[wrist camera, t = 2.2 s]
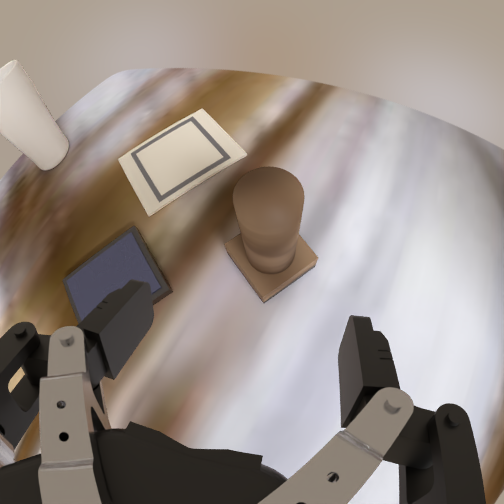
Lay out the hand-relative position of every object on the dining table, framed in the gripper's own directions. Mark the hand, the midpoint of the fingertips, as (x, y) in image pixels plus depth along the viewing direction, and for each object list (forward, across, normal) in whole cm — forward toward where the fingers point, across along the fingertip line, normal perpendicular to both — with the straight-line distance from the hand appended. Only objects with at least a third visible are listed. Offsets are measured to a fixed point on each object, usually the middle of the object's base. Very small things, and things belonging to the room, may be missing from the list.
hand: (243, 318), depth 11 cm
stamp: (+12, 0, +4) cm, 13 cm away
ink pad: (+9, +13, +7) cm, 17 cm away
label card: (+19, +11, -3) cm, 22 cm away
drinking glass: (+20, +30, -3) cm, 36 cm away
